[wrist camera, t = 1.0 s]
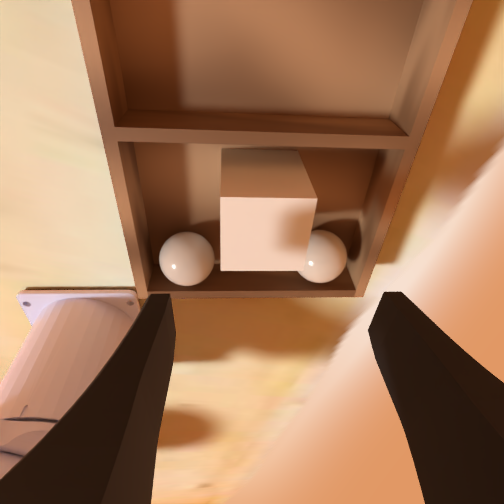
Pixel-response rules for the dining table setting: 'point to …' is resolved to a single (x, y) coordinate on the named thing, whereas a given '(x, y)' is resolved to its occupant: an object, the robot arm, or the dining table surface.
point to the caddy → (262, 117)
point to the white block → (264, 210)
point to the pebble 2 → (324, 257)
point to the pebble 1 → (186, 258)
